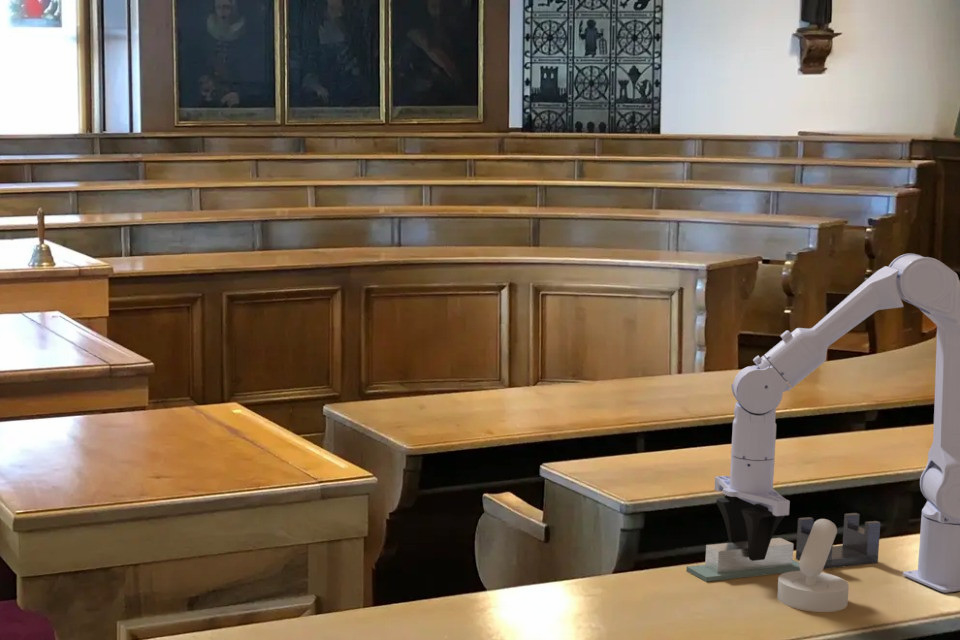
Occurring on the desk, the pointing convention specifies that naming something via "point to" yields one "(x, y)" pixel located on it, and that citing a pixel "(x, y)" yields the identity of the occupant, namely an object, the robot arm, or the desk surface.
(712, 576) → the rubber mat
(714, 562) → the silver rail
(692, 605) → the desk surface
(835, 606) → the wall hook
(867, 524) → the dark grey slotted rack
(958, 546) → the robot arm
